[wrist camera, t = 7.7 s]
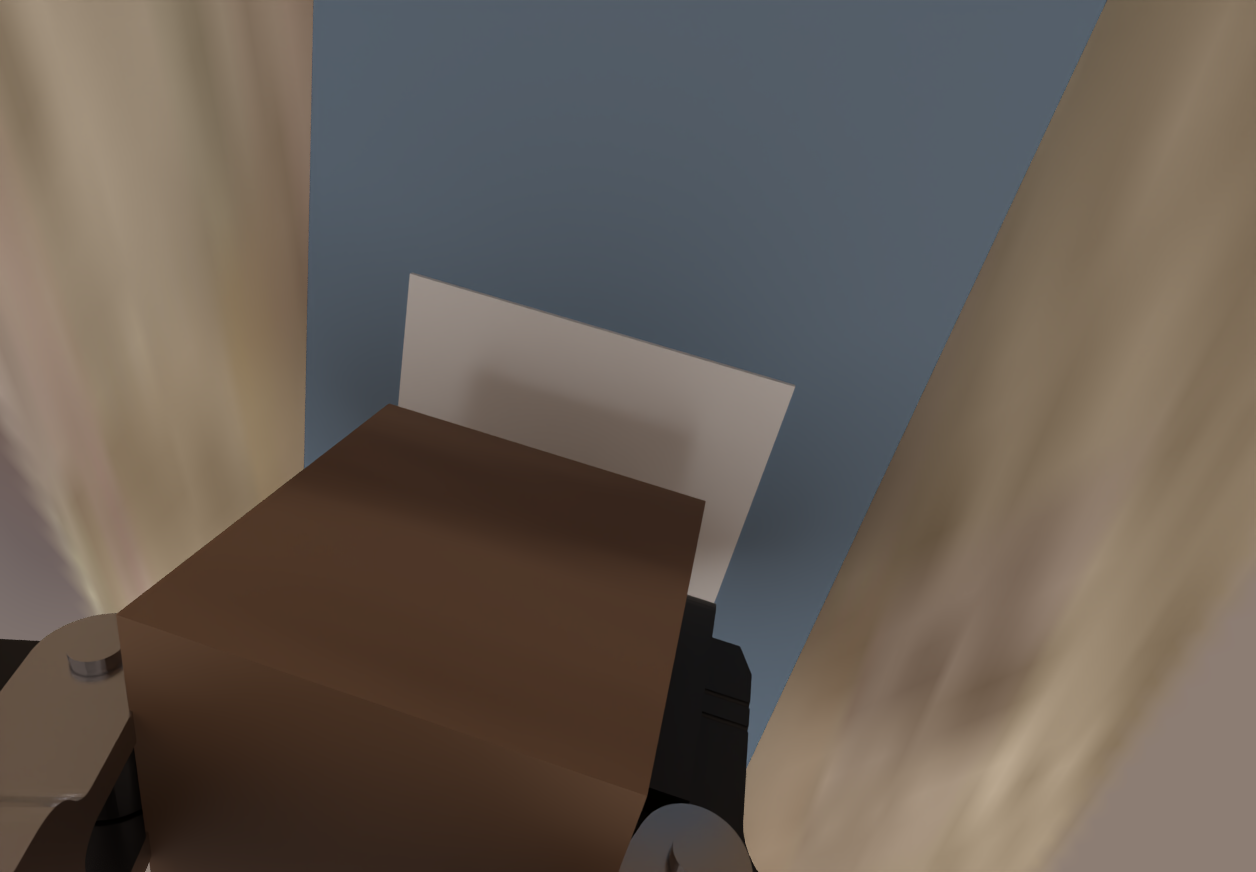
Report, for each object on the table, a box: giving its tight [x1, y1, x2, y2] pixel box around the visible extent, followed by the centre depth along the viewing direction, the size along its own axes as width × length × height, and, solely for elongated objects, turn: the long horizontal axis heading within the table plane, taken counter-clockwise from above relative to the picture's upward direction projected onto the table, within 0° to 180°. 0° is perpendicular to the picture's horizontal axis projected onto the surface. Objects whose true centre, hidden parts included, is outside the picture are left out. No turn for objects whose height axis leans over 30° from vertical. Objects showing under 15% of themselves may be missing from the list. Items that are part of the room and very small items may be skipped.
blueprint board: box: [304, 0, 1107, 768], centre depth 14 cm, size 23×11×1 cm, turn 167°
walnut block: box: [116, 404, 706, 872], centre depth 10 cm, size 5×5×5 cm
